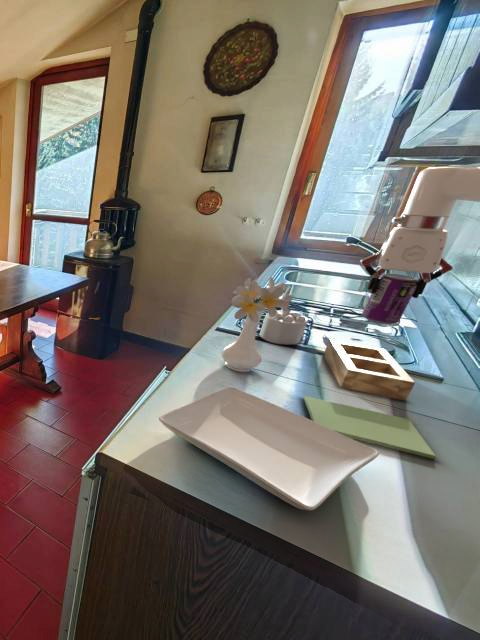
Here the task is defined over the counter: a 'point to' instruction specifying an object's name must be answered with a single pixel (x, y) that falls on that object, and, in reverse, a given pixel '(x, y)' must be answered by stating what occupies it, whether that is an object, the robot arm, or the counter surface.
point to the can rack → (367, 370)
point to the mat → (368, 426)
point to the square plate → (270, 445)
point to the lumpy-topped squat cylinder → (284, 327)
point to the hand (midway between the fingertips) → (391, 293)
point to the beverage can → (390, 298)
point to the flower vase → (253, 320)
